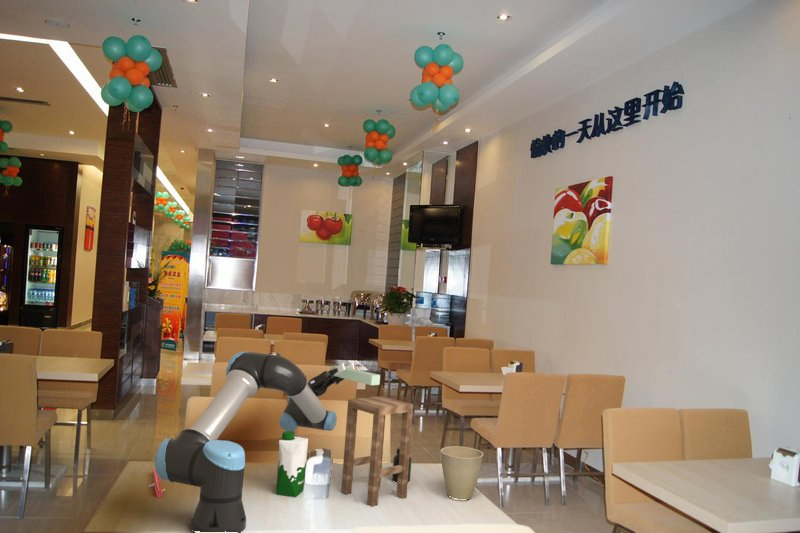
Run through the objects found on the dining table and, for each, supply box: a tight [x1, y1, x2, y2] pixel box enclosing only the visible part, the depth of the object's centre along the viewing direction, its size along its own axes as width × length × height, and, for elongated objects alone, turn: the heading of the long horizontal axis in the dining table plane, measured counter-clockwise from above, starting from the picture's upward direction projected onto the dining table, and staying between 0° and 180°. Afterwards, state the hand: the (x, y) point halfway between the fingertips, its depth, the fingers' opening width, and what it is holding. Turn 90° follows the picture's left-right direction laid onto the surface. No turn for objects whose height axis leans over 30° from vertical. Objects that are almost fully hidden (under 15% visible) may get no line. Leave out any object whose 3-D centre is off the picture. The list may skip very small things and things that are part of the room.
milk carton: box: [275, 430, 309, 498], centre depth 206 cm, size 9×9×20 cm
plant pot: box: [440, 446, 484, 499], centre depth 214 cm, size 15×15×16 cm
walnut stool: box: [340, 395, 414, 508], centre depth 210 cm, size 16×16×32 cm
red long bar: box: [148, 468, 166, 498], centre depth 204 cm, size 24×2×5 cm
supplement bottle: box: [391, 446, 413, 483], centre depth 227 cm, size 7×7×12 cm
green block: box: [330, 365, 381, 386], centre depth 228 cm, size 24×4×4 cm, turn 44°
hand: (348, 366), depth 231 cm, fingers closed on green block, 4 cm apart
